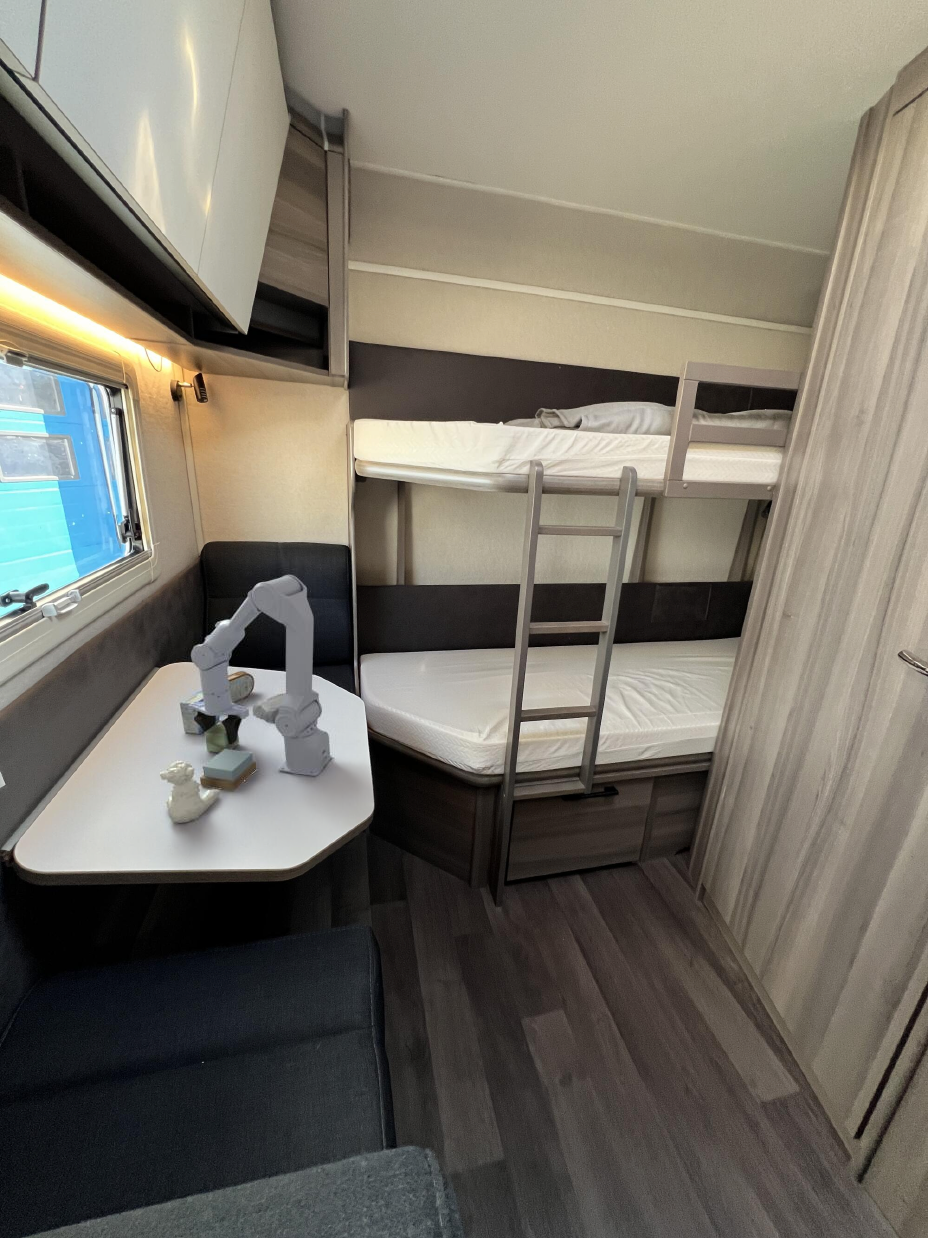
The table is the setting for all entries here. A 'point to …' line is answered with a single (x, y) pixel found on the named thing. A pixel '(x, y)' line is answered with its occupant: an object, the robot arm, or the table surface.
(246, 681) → the tin
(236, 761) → the slate blue slab
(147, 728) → the table surface
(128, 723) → the table surface
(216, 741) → the green cube
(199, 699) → the medicine box
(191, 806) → the seated beast figurine
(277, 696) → the stone block
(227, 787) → the walnut slab
